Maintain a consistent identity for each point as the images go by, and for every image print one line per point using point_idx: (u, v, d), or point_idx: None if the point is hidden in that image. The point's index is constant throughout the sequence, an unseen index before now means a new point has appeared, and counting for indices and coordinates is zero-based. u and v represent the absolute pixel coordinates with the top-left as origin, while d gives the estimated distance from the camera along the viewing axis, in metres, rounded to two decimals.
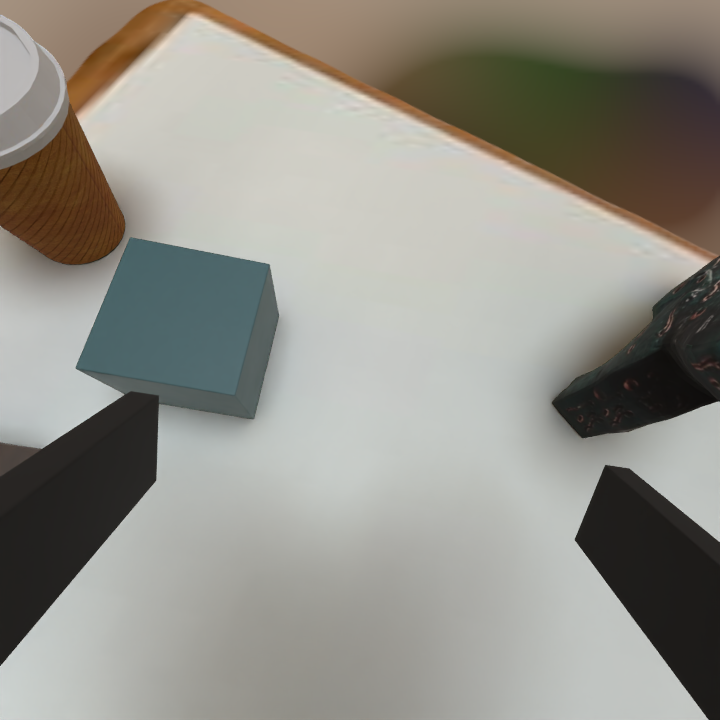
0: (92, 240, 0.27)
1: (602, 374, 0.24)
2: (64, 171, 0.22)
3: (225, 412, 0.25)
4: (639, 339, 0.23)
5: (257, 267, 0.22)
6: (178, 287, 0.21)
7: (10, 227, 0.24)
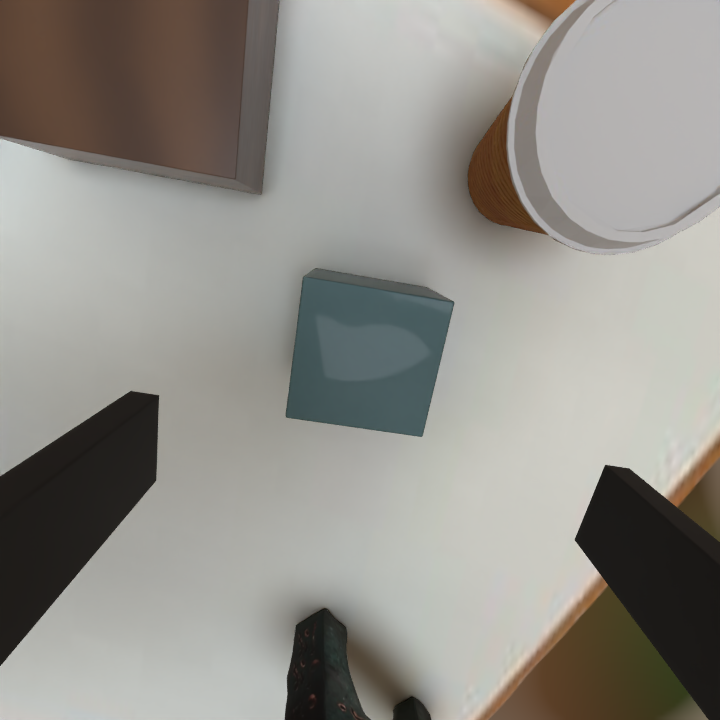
0: (487, 210, 0.24)
1: (328, 673, 0.30)
2: (536, 228, 0.18)
3: None
4: (349, 715, 0.28)
5: (418, 426, 0.22)
6: (394, 357, 0.21)
7: (487, 141, 0.20)
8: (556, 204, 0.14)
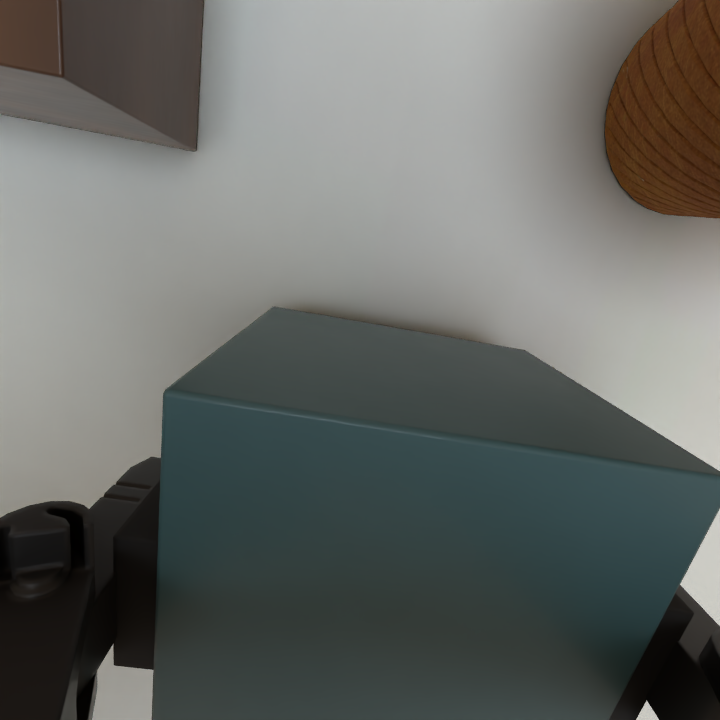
0: (662, 179, 0.11)
1: None
2: None
3: None
4: None
5: None
6: (494, 643, 0.06)
7: None
8: None
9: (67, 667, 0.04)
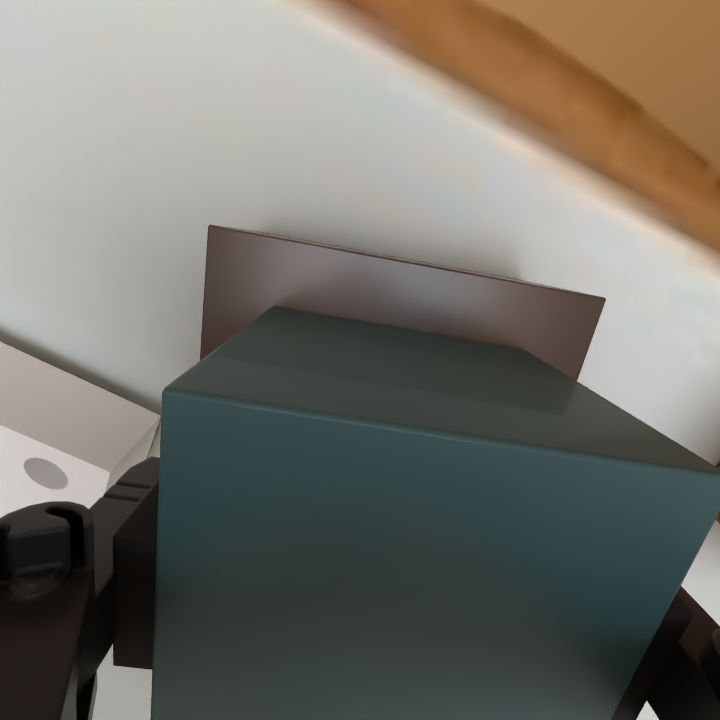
0: None
1: None
2: None
3: None
4: None
5: None
6: (495, 643, 0.06)
7: None
8: None
9: (66, 667, 0.04)
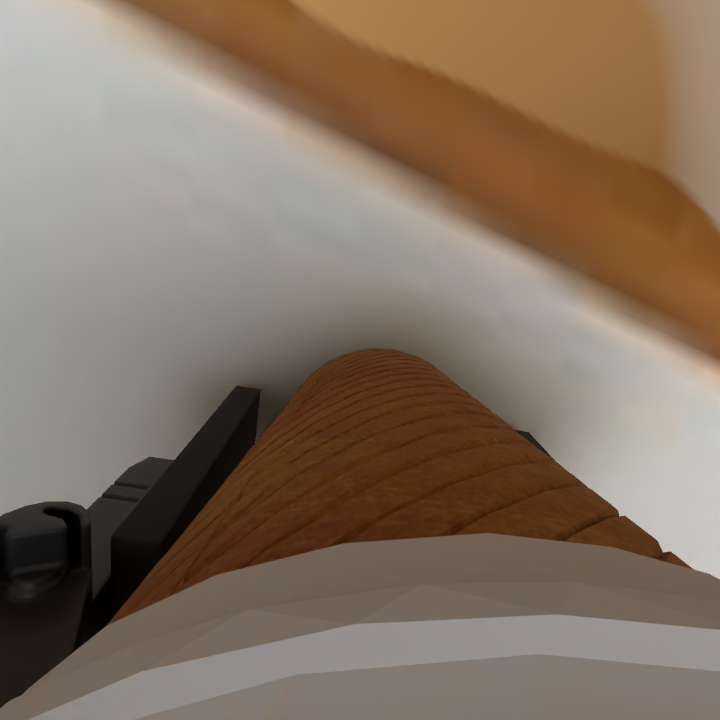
0: None
1: None
2: None
3: None
4: None
5: None
6: None
7: None
8: None
9: None
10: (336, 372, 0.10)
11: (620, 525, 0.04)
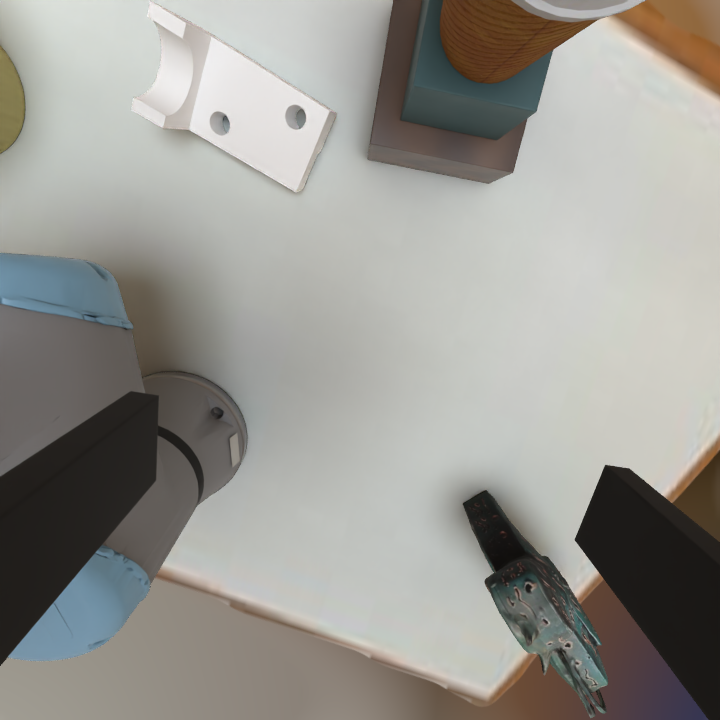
0: (459, 51, 0.22)
1: (508, 521, 0.42)
2: (503, 22, 0.16)
3: (406, 90, 0.29)
4: (529, 544, 0.40)
5: (533, 99, 0.24)
6: None
7: None
8: None
9: None
10: None
11: None
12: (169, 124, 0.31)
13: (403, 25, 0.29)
